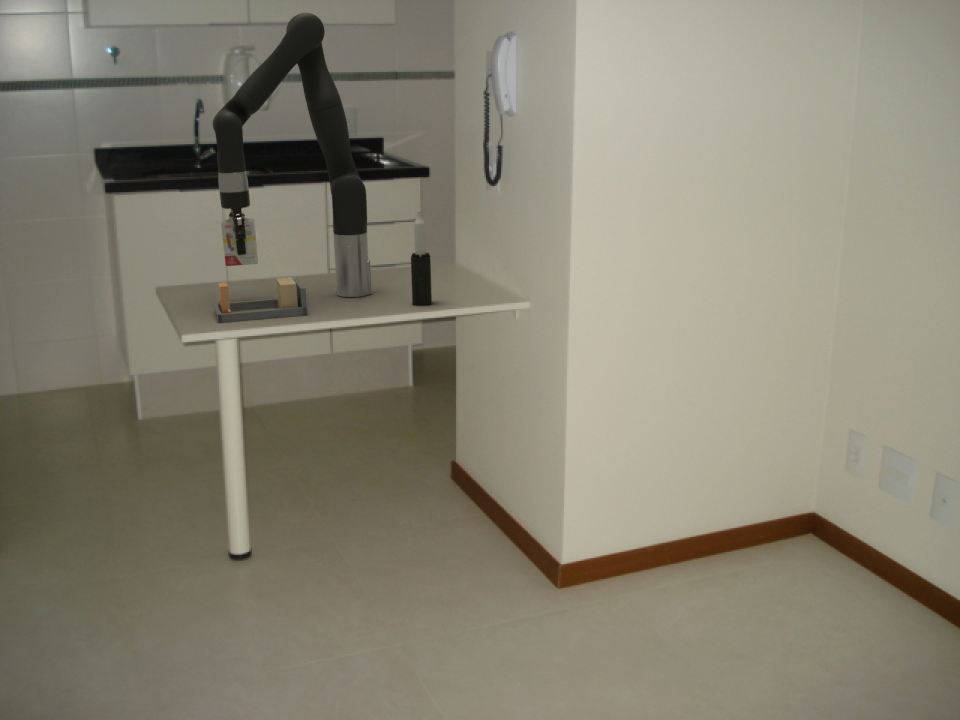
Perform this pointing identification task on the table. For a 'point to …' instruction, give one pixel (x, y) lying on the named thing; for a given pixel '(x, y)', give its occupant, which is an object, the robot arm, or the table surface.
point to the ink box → (231, 246)
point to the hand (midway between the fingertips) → (240, 252)
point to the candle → (420, 266)
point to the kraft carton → (286, 293)
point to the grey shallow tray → (263, 304)
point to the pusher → (224, 298)
